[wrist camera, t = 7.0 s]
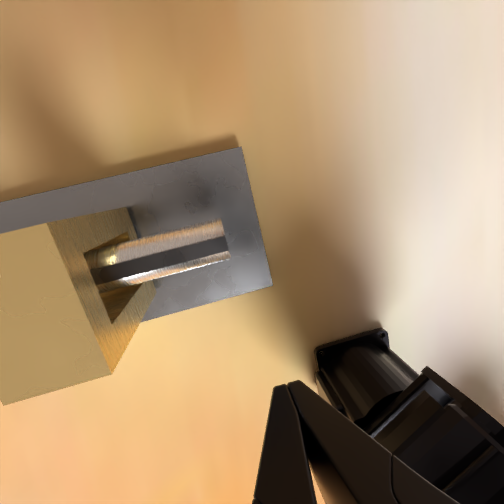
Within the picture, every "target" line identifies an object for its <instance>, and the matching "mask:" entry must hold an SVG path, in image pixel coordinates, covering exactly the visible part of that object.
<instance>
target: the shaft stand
mask: <svg viewBox="0 0 504 504" xmlns="http://www.w3.org/2000/svg"><path fill="white" fill-rule="evenodd" d="M123 207H127V210H128V212H129V215H130V218H131V221H132V224H133V227H134V230H135V232H136V235H137V238H138V239H134V240H130V241H126V242H122V243H118V244H114V245H110V246H106V247H102V248H98V249H94V250H90V251H86V252H84V253H83V255H84V258H85V260H86V263H87V265H88V268H89V270H90V273H91V275H92V277H93V280H94V282H95V285H96V287H97V290H98V292H99V294H100V293H104V292H108V291H112V290H115V289H119V288H123V287H127V286H130V285H134V284H138V283H142V282H146V281H149V280H152V281H153V284H154V287H155V289H156V292H157V293H156V295H155V296H154V298H153V300H152V302H151V304H150V306H149V307H148V309H147V311H146V313H145V315H144V317H143V318H142V320H141V322H143V321H147V320H151V319H154V318H158V317H162V316H165V315H169V314H172V313H176V312H180V311H183V310H187V309H190V308H194V307H198V306H201V305H205V304H208V303H212V302H216V301H219V300H223V299H227V298H230V297H234V296H237V295H241V294H245V293H248V292H252V291H255V290H259V289H263V288H266V287H270V286H273V283H272V278H271V274H270V270H269V265H268V261H267V257H266V252H265V248H264V243H263V239H262V235H261V230H260V226H259V222H258V217H257V213H256V209H255V204H254V200H253V196H252V191H251V187H250V182H249V178H248V174H247V169H246V165H245V161H244V156H243V152H242V148H241V147H237V148H233V149H229V150H224V151H220V152H216V153H211V154H207V155H203V156H198V157H194V158H190V159H185V160H181V161H177V162H172V163H168V164H164V165H159V166H155V167H151V168H147V169H142V170H138V171H134V172H129V173H125V174H121V175H116V176H112V177H108V178H103V179H99V180H95V181H90V182H86V183H82V184H77V185H73V186H69V187H65V188H60V189H56V190H52V191H47V192H43V193H39V194H34V195H30V196H26V197H21V198H17V199H13V200H8V201H4V202H0V234H2V233H6V232H10V231H14V230H18V229H22V228H27V227H31V226H35V225H39V224H43V223H48V222H53V221H58V220H63V219H68V218H73V217H78V216H83V215H88V214H93V213H98V212H103V211H108V210H113V209H118V208H123Z"/></svg>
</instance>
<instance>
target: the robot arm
mask: <svg viewBox="0 0 504 504" xmlns="http://www.w3.org/2000/svg"><path fill="white" fill-rule="evenodd" d="M381 333H382V335H381V336H380V334H381ZM321 351H323V352H322V353H321V354H319V353H320V352H321ZM314 354H315V359H316V364H317V369H318V371H317V372H316V374H315V378H316V383H317V388H318V393H319V395H318V394H317V393H315V392H314V391H313V390H312V389H310V388H309V387H308V386H306V385H305V384H304V383H303V382H301V381H300V380H296V381H293V382H289V383H288V384H287V385H286V384H282V385H279V386H275V387H274V388H273V392H272V398H271V403H270V409H269V414H268V420H267V425H266V431H265V436H264V441H263V447H262V452H261V458H260V463H259V469H258V474H257V480H256V485H255V491H254V499H253V501H252V504H317V501H316V496H315V491H314V486H313V481H312V476H311V471H310V468H311V470H312V473H313V475H314V478H315V480H316V482H317V485H318V487H319V489H320V492H321V494H322V496H323V499H324V501H325V503H326V504H504V427H503V426H502V425H501V424H500V423H498V422H497V421H496V420H495V419H494V418H493V417H491V416H490V415H489V414H488V413H487V412H485V411H484V410H483V409H482V408H481V407H479V406H478V405H477V404H476V403H474V402H473V401H472V400H471V399H469V398H468V397H467V396H465V395H464V394H463V393H462V392H460V391H459V390H458V389H456V388H455V387H454V386H452V385H451V384H450V383H449V382H447V381H446V380H445V379H443V378H442V377H441V376H439V375H438V374H437V373H436V372H434V371H433V370H432V369H430V368H429V367H428V366H426V367H425V368H424V369H423V370H422V371H421V372H422V373H421V374H420V375H419V374H417V373H416V372H415V371H414V370H413V369H412V368H411V367H410V366H409V365H407V364H406V363H405V362H404V361H403V360H402V359H401V358H400V357H399V356H397V355H396V354H395V353H394V352H393V351H392V350H391V349H390V347H389V339H388V333H387V331H385V330H384V329H383V328H378V329H375V330H372V331H368V332H365V333H362V334H358V335H355V336H352V337H348V338H345V339H342V340H338V341H335V342H332V343H328V344H325V345H322V346H318V347H317V348H316V349H315V351H314ZM309 465H310V466H309Z"/></svg>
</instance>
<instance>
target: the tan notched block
mask: <svg viewBox="0 0 504 504" xmlns="http://www.w3.org/2000/svg"><path fill="white" fill-rule="evenodd" d="M134 239H138V238H137V235H136V232H135V230H134V227H133V224H132V221H131V218H130V215H129V212H128V210H127V207H123V208H118V209H113V210H108V211H103V212H98V213H93V214H88V215H83V216H78V217H73V218H68V219H63V220H58V221H53V222H48V223H43V224H39V225H35V226H31V227H27V228H22V229H18V230H14V231H10V232H6V233H2V234H0V400H1V402H2V404H3V406H4V405H8V404H11V403H15V402H18V401H22V400H25V399H28V398H32V397H35V396H39V395H42V394H46V393H49V392H53V391H56V390H59V389H63V388H66V387H70V386H73V385H77V384H80V383H84V382H87V381H91V380H94V379H97V378H101V377H104V376H108V375H111V374H112V373H113V371H114V369H115V368H116V366H117V364H118V362H119V360H120V358H121V357H122V355H123V353H124V351H125V349H126V348H127V346H128V344H129V342H130V340H131V338H132V337H133V335H134V333H135V331H136V329H137V327H138V326H139V324H140V322H141V320H142V318H143V317H144V315H145V313H146V311H147V309H148V307H149V306H150V304H151V302H152V300H153V298H154V296H155V295H156V293H157V292H156V289H155V287H154V284H153V281H152V280H149V281H146V282H142V283H138V284H134V285H130V286H127V287H123V288H119V289H115V290H112V291H108V292H104V293H100V294H99V292H98V290H97V287H96V285H95V282H94V280H93V277H92V275H91V273H90V270H89V268H88V265H87V263H86V260H85V258H84V255H83V253H84V252H86V251H90V250H94V249H98V248H102V247H106V246H110V245H114V244H118V243H122V242H126V241H130V240H134Z"/></svg>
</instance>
